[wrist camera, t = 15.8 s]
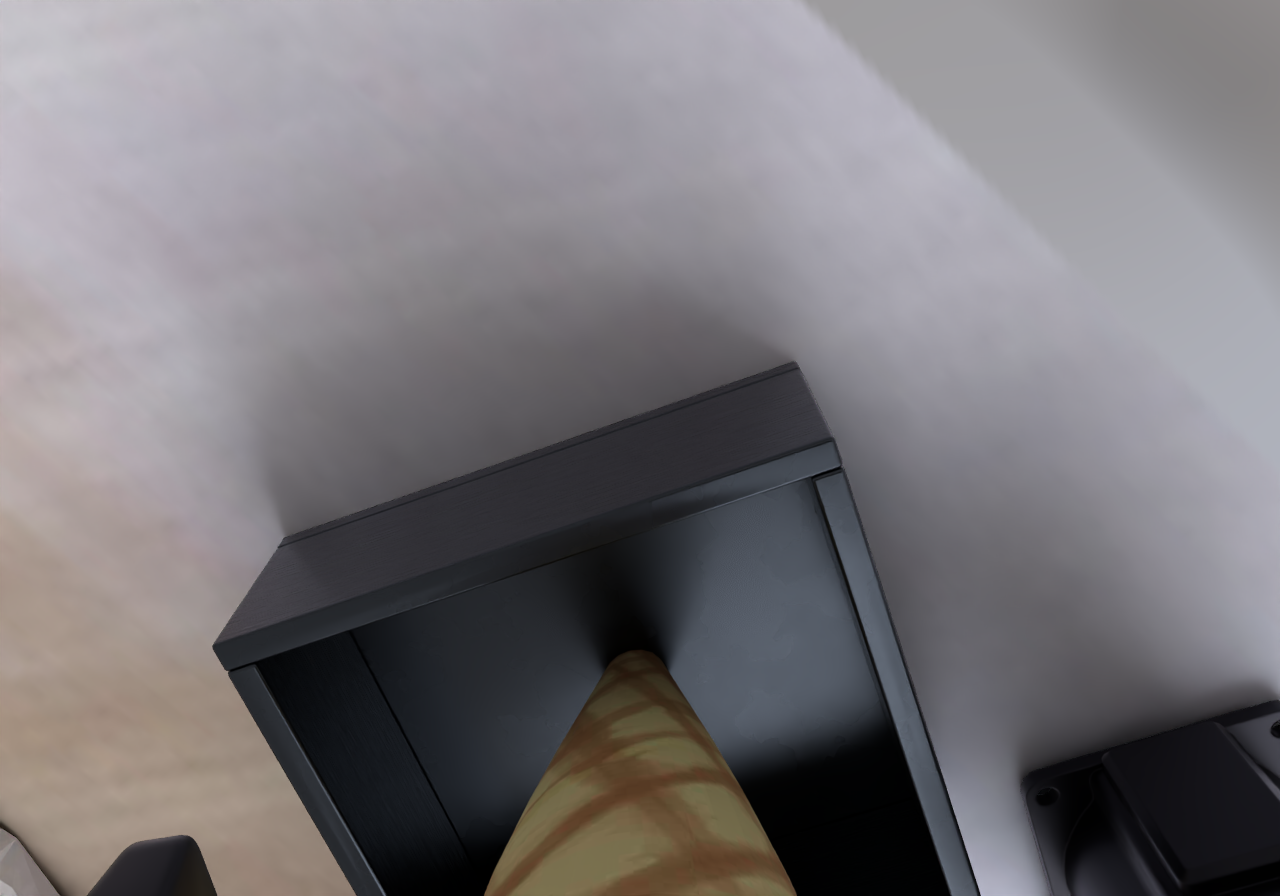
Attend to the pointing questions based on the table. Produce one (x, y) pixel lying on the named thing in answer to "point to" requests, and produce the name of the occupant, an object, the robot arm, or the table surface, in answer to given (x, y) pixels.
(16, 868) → the packaged product
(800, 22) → the table surface
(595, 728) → the ice cream cone
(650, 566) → the open black storage bin
